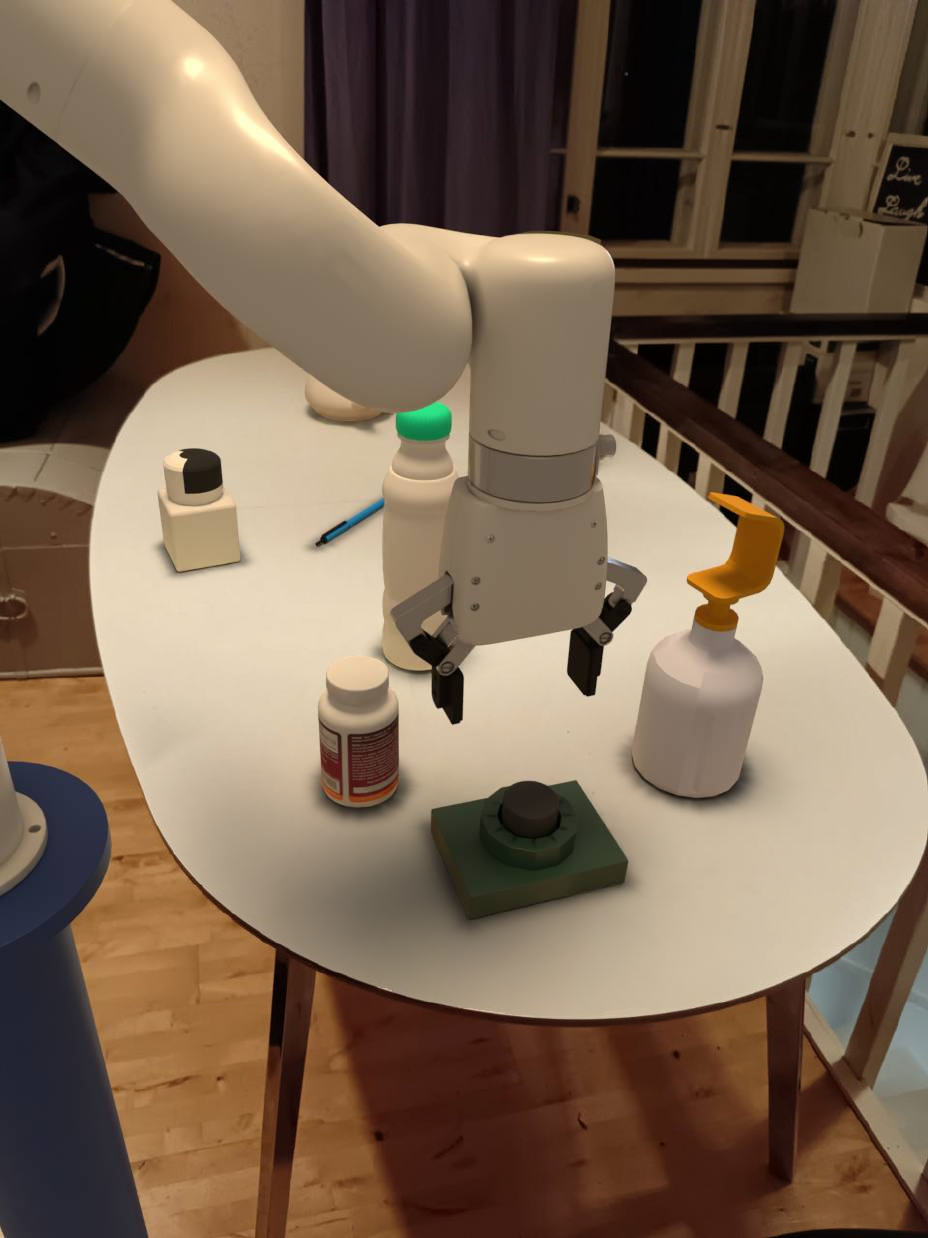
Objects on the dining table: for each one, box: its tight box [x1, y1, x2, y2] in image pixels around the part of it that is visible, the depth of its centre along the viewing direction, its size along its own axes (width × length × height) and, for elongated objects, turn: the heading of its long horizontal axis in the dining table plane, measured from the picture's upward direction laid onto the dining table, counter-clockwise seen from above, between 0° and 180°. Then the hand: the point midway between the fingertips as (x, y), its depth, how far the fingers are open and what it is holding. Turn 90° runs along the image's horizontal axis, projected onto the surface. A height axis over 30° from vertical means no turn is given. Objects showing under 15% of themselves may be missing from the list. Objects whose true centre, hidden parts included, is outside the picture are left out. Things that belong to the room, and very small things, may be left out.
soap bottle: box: [630, 491, 785, 799], centre depth 74 cm, size 9×9×25 cm
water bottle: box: [381, 401, 460, 672], centre depth 87 cm, size 7×7×25 cm
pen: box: [314, 497, 385, 547], centre depth 119 cm, size 1×19×1 cm, turn 151°
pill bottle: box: [317, 654, 400, 808], centre depth 74 cm, size 6×6×11 cm
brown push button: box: [502, 780, 559, 839], centre depth 69 cm, size 4×4×2 cm
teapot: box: [304, 373, 382, 422], centre depth 148 cm, size 22×14×11 cm, turn 23°
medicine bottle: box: [156, 447, 241, 573], centre depth 106 cm, size 7×7×12 cm
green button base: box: [430, 779, 629, 920], centre depth 70 cm, size 12×9×4 cm
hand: (516, 698), depth 65 cm, fingers open, 9 cm apart
